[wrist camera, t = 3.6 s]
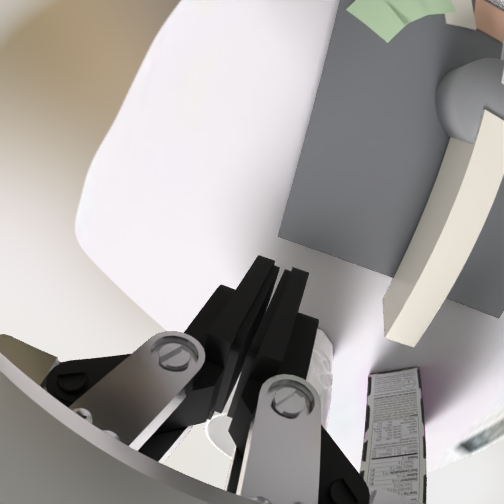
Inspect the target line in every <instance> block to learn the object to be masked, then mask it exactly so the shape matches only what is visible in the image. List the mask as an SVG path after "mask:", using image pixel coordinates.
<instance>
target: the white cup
mask: <svg viewBox="0 0 504 504" xmlns="http://www.w3.org/2000/svg"><path fill="white" fill-rule="evenodd" d="M332 366H333V345H332V343H331V342H330V340H329V339H328V337H327V336H326V335H325V333H324V332H323V331H321V330H320V329H318V328H317V333H316V338H315V343H314V347H313V352H312V357H311V361H310V365H309V370H308V374H307V378H306V381H307V382H309V383H310V384H311V385H312V386H313V387H314V388H315V389H316V390H317V392H318V394H319V396H320V400H321V425H322V426H323V427H324V429H325V430H327V423H328V416H329V409H330V401H331V390H332V377H333V374H332ZM240 375H241V374H240ZM239 378H240V376H239ZM239 378H238V380H237V382H236V384H235V386H234V389H233V391H232V393H231V395H230V397H229V399H228V401H227V403H226V405H225V408H224V410H223V412H222V413H221V414H220V413H218V412H214V414H213V416H212V418H211V420H209V419H207V421H206V422H205V425H204V429H205V433H206V436H207V438H208V439H209V440H210V442H211V443H212V444H213V445H214V446H215V447H216V448H217V449H218V450H219V451H221V452H222V453H223V454H225V455H226V456H228V457H230V458H232V455H233V451H234V447H235V443H234V441H233V439H232V437H231V436H230V434H229V432H228V429H229V427H230V424H231V421H232V419H233V418H230V417H228V416H227V414H228V411H229V408H230V405H231V402H232V399H233V396H234V393H235V390H236V387H237V384H238V381H239Z"/></svg>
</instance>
